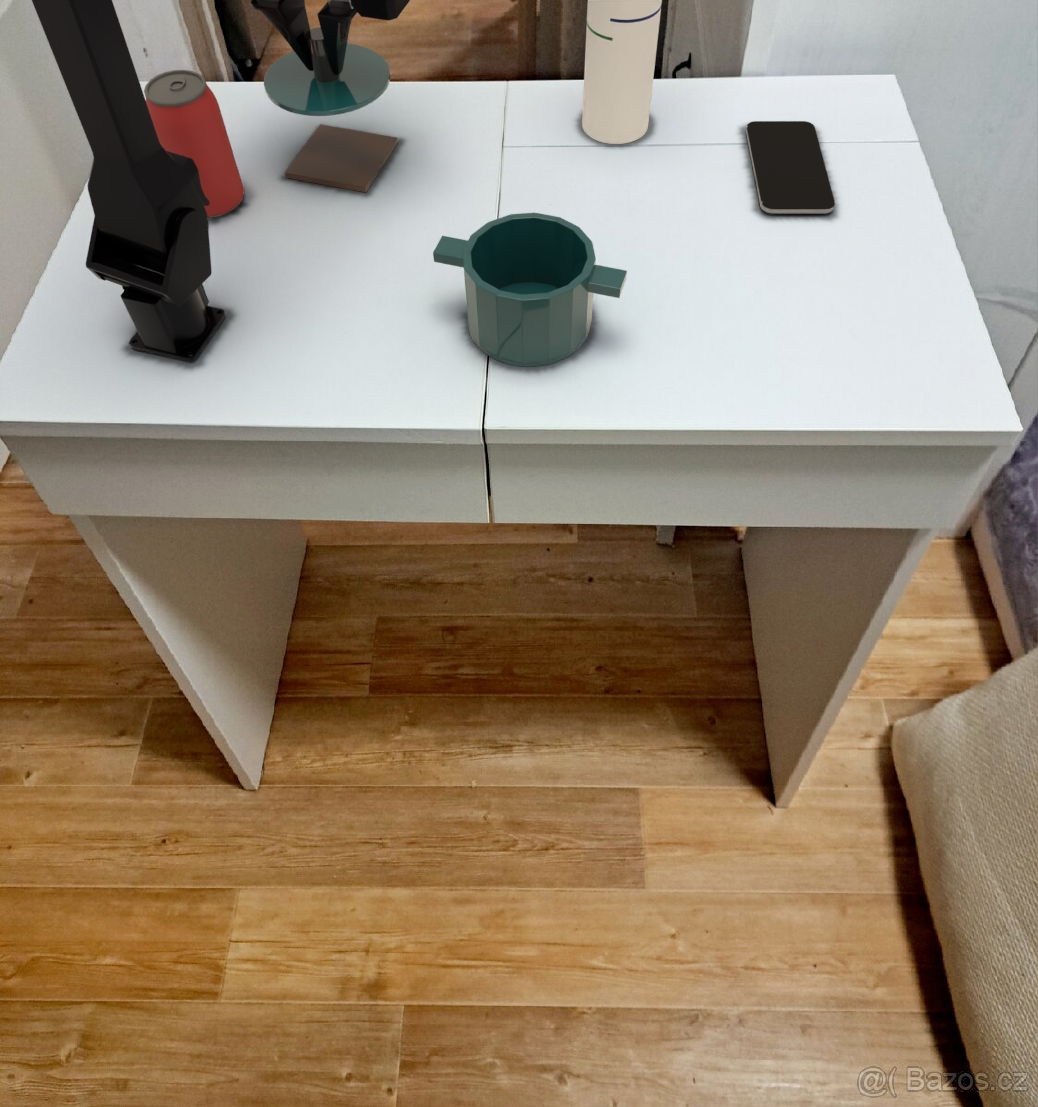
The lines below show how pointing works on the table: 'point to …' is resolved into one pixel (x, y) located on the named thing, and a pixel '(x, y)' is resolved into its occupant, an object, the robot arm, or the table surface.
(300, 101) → the lid
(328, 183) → the trivet
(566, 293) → the pot
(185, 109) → the beer can
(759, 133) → the smartphone
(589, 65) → the cylindrical container
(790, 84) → the table surface
